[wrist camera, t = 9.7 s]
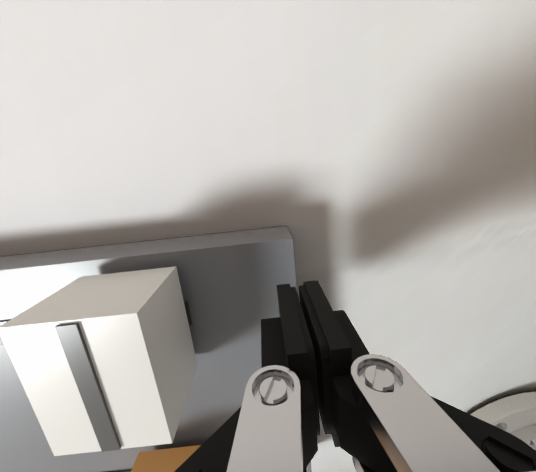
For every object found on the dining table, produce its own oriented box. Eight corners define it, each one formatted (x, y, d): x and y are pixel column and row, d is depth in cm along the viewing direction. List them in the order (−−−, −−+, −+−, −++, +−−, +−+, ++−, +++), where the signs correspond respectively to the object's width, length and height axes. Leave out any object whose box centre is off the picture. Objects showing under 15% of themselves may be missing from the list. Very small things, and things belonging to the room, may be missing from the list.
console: (286, 225, 13) (292, 239, 11) (306, 448, 18) (313, 495, 15) (-129, 270, 13) (-219, 294, 11) (-9, 483, 18) (-54, 535, 15)
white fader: (176, 266, 11) (134, 314, 7) (197, 364, 12) (171, 446, 8) (81, 276, 11) (-8, 330, 7) (113, 373, 12) (52, 459, 8)
